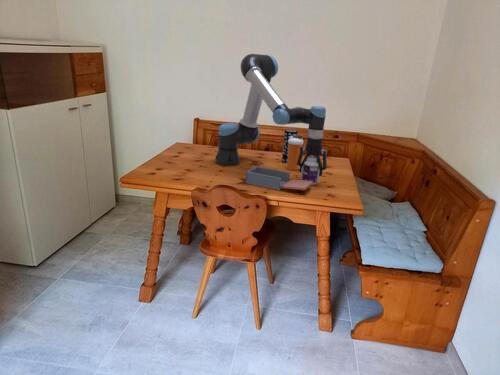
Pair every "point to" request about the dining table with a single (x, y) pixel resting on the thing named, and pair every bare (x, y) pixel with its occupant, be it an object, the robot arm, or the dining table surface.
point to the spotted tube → (285, 144)
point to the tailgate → (297, 184)
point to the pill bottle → (310, 169)
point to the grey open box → (267, 177)
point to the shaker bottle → (294, 151)
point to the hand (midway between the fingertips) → (309, 180)
